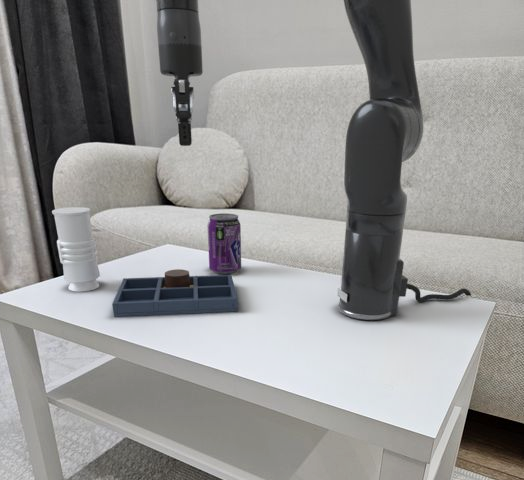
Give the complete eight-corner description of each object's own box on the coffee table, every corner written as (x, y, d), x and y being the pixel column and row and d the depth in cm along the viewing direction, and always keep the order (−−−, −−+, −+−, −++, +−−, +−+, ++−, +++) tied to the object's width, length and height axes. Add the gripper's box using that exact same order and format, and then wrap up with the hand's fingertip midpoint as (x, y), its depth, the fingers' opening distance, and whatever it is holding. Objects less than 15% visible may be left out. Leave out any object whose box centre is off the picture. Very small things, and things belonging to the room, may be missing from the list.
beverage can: (226, 277, 102) (225, 220, 96) (202, 271, 105) (199, 216, 100) (247, 269, 107) (247, 215, 101) (224, 264, 110) (222, 211, 105)
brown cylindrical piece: (190, 286, 94) (189, 268, 92) (190, 293, 89) (189, 275, 88) (166, 287, 93) (165, 269, 91) (165, 294, 89) (163, 276, 87)
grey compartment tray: (231, 286, 96) (231, 274, 95) (237, 311, 83) (237, 298, 82) (124, 290, 94) (123, 278, 93) (113, 316, 81) (112, 303, 80)
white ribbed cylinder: (61, 285, 96) (46, 209, 89) (95, 279, 100) (83, 206, 93) (71, 294, 91) (57, 214, 84) (106, 288, 95) (95, 210, 88)
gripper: (202, 38, 77) (206, 146, 84) (200, 50, 90) (204, 143, 97) (155, 37, 76) (163, 146, 83) (160, 49, 89) (167, 143, 96)
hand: (185, 144), depth 90 cm, fingers open, 8 cm apart
